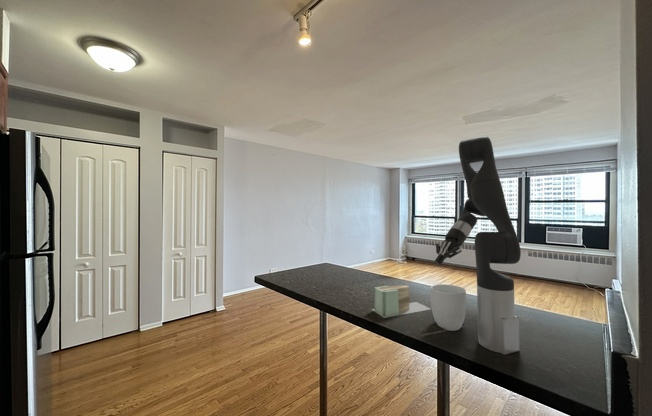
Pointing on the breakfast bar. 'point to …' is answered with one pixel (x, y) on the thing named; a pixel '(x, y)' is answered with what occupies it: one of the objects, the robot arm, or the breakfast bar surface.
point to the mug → (448, 306)
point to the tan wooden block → (400, 295)
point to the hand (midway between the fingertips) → (437, 263)
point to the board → (413, 308)
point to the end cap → (386, 301)
